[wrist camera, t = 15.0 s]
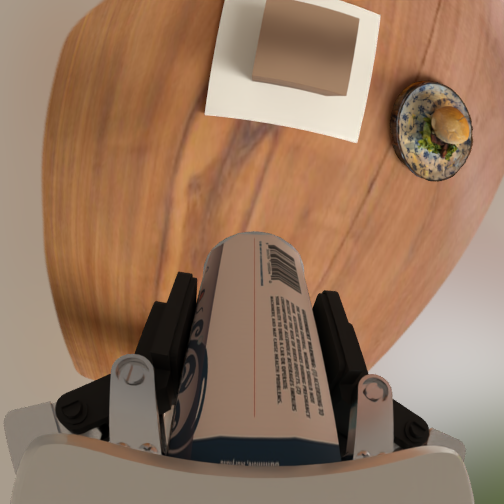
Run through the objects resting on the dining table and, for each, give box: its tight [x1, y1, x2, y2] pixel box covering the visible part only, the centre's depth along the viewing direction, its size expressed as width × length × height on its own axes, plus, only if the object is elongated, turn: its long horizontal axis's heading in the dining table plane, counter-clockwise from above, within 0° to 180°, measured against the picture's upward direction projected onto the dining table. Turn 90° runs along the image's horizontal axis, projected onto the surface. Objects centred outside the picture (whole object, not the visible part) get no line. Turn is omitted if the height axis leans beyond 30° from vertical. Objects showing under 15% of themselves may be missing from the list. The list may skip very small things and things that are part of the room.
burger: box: [390, 81, 473, 181], centre depth 21 cm, size 12×12×8 cm
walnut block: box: [252, 0, 360, 96], centre depth 17 cm, size 7×7×6 cm
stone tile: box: [205, 0, 381, 143], centre depth 20 cm, size 15×15×1 cm
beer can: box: [166, 231, 341, 466], centre depth 8 cm, size 5×5×12 cm
